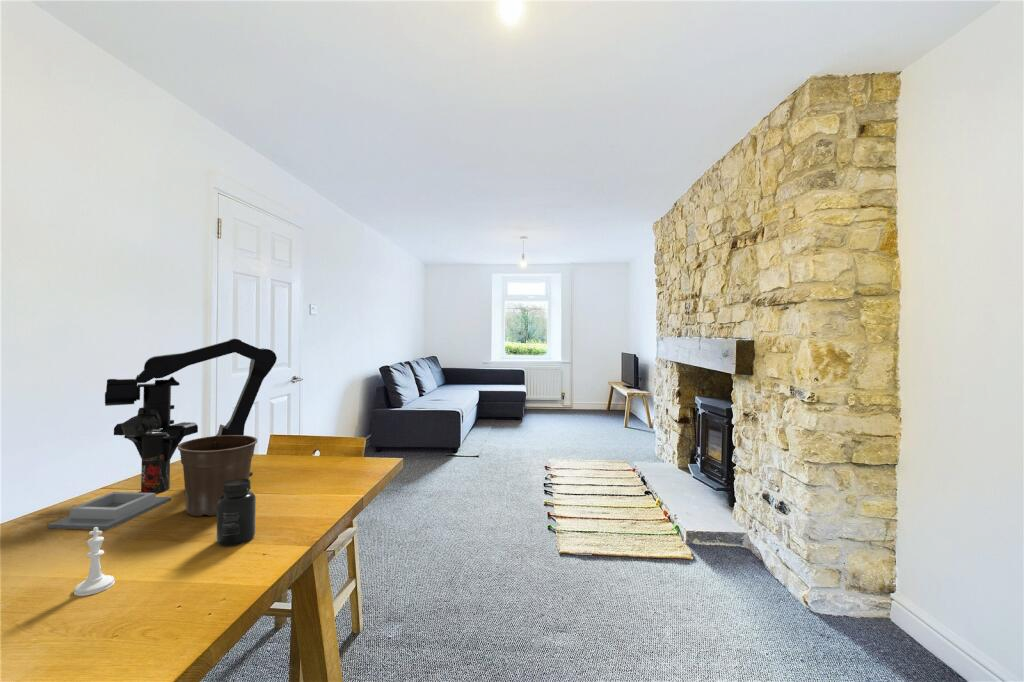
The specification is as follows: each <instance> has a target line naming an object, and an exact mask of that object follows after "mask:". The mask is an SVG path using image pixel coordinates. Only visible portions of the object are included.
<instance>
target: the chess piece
mask: <svg viewBox="0 0 1024 682" xmlns="http://www.w3.org/2000/svg"><path fill="white" fill-rule="evenodd" d="M102 534H103V530H98V527H95V528H93V529H92V530H91V531H89V533H88V535H90V536H92V535H93V536H92V537H91V538H89V539H88V540H87V542H86V543H87V545H88V548H89V549H90V552H88V553H86V558H91V560H90V565H89V571H88V575H87V577H86V578H85V579H84V580H83V581H80V583H78V584H77V585H76V586H75V587H74V591H73V594H74V595H75V596H76V597H77V596H78V597H84V596H90V595H95V594H98V593H101V592H104V591H105V590H106V591H107V589H110V588H111V587H113V586H114V584H115V577H114V576H113V575H111V574H110V575H109V574H104V573H102V568H101V559H100V556H102V555H103V554H104V553H105V551H104V549H101V548H102V544H103V542H104V540H105V537H103V536H99V535H102Z"/></svg>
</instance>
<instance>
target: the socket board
mask: <svg viewBox="0 0 1024 682" xmlns="http://www.w3.org/2000/svg"><path fill="white" fill-rule="evenodd" d="M171 501H172V496H171V497H170V496H156V494H155V493H141V492H137V491H136V492H135V491H134V492H133V491H132V492H131V491H130V492H129V491H112V492H110V493H107V494H104V495H102V496H100V497H97V498H93V499H92V500H89V501H86V502H83V503H81V504H78V505H75V506H73V507H70V508H69V516H65V517H63V518H61V519H59V520H56V521H53V522H51V523H48V524H47V528H48V529H60V530H61V529H62V530H63V529H64V530H68V529H69V530H93V528H95V527H98V531H109V530H110V529H112V528H115V527H117V526H119V525H122V524H124V523H126V522H128V521H130V520H132V519H134V518H137V517H138V516H140V515H142V514H145V513H147V512H149V511H151V510H153V509H156V508H158V507H159V506H162V505H164V504H166V503H168V502H171Z"/></svg>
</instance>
